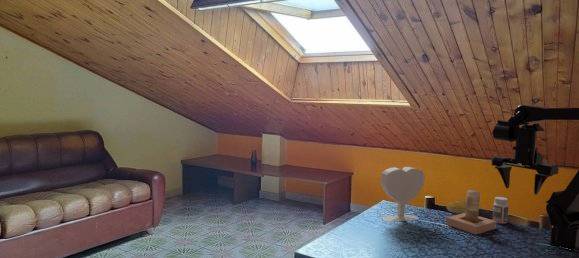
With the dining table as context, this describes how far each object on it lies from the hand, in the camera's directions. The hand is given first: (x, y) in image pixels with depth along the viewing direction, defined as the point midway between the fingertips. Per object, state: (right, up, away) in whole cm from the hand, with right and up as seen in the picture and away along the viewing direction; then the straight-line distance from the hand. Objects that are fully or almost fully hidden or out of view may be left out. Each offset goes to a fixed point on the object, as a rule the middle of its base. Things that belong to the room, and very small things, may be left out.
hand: (521, 191), depth 136 cm
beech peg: (-15, -12, +3) cm, 20 cm away
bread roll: (-12, -11, +21) cm, 27 cm away
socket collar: (-15, -12, +3) cm, 20 cm away
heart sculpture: (-37, -11, +11) cm, 40 cm away
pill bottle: (-2, -12, +10) cm, 16 cm away
